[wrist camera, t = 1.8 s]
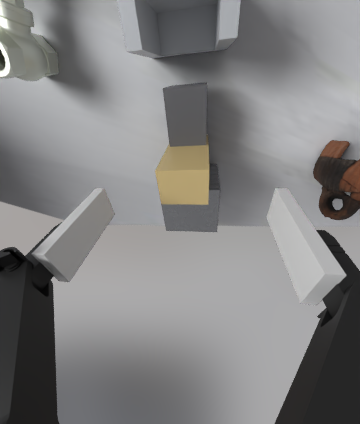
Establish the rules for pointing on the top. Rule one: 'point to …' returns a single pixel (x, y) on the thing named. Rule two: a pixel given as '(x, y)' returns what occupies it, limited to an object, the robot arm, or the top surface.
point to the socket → (178, 26)
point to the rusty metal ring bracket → (338, 181)
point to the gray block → (196, 210)
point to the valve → (23, 45)
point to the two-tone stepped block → (185, 147)
